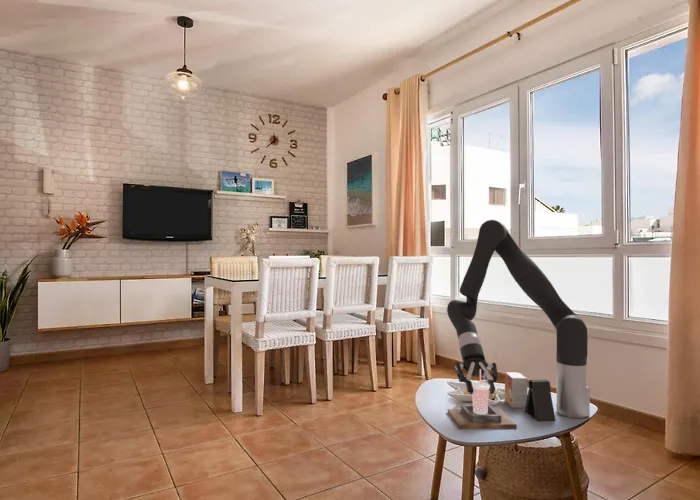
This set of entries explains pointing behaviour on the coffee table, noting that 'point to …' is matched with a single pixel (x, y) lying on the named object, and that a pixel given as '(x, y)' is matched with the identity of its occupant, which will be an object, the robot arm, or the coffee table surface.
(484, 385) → the beverage cup
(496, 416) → the walnut socket plate
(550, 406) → the black tent sign
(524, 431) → the coffee table surface
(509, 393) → the small box
